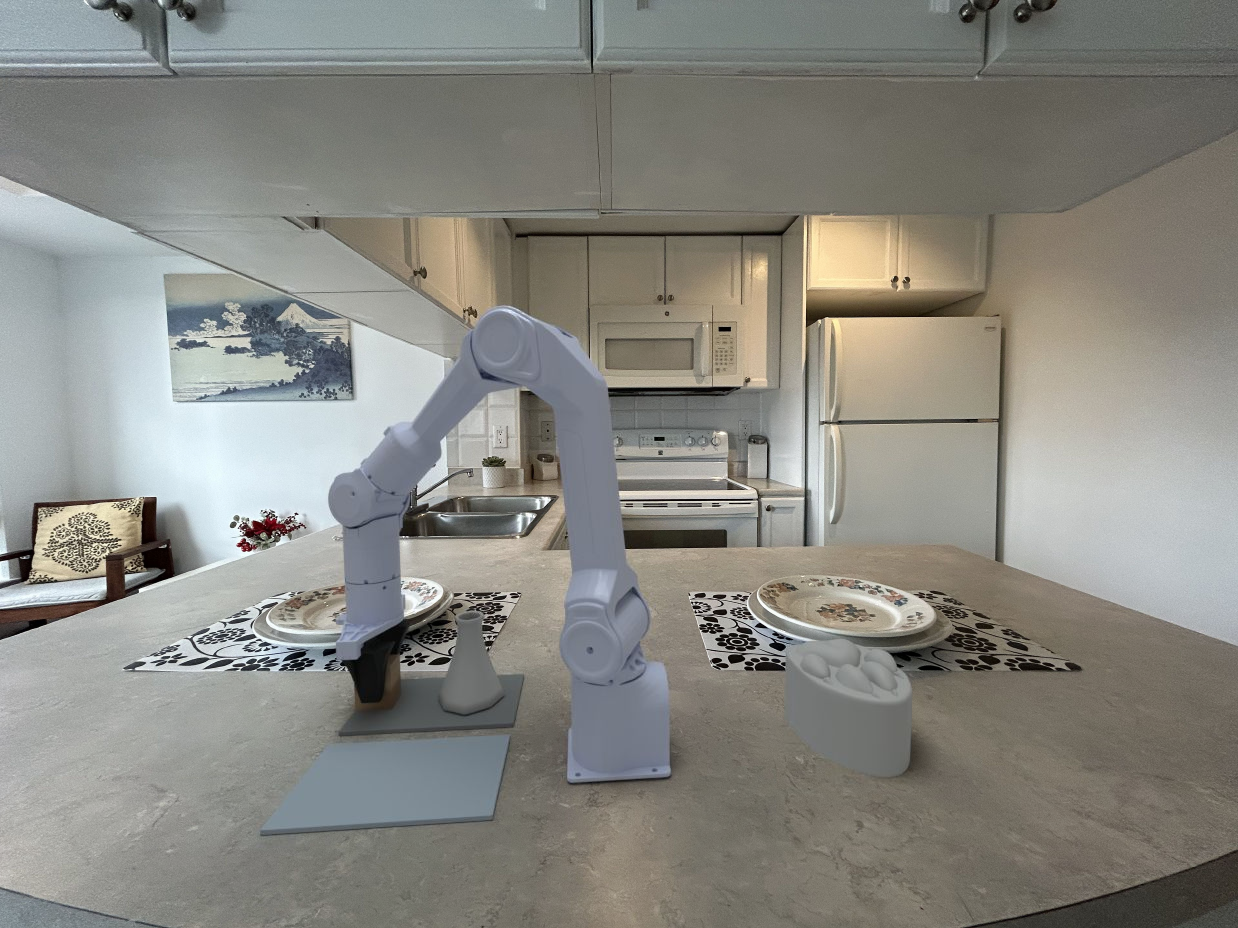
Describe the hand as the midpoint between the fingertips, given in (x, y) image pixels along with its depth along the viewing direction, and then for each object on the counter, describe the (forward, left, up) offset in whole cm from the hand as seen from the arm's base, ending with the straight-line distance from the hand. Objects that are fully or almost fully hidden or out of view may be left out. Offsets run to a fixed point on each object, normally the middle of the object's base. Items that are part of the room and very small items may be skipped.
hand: (377, 692), depth 58 cm
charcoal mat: (-7, 0, -2) cm, 7 cm away
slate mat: (-7, +13, -2) cm, 15 cm away
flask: (-11, 0, -1) cm, 11 cm away
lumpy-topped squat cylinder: (-51, +10, -2) cm, 52 cm away
